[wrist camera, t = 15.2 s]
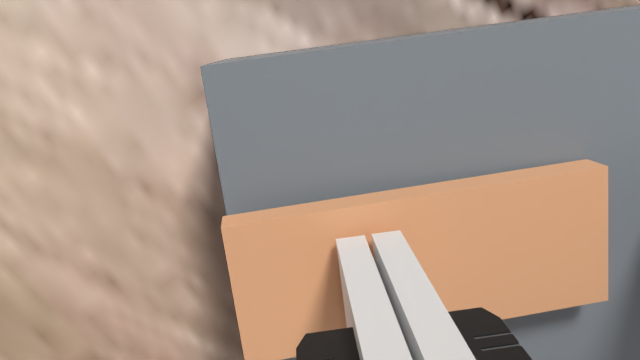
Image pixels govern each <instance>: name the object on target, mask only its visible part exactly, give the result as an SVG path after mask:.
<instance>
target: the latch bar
mask: <svg viewBox="0 0 640 360" xmlns="http://www.w3.org/2000/svg"><path fill="white" fill-rule="evenodd" d="M397 230H400V231H401V233H402V234H403V236H404V238H405V239H406V241H407V243H408V244H409V246H410V248H411V250H412V251H413V253H414V255H415V256H416V258H417V260H418V262H419V263H420V265H421V267H422V268H423V270H424V272H425V274H426V275H427V277H428V279H429V280H430V282H431V284H432V285H433V287H434V289H435V291H436V292H437V294H438V296H439V297H440V299H441V301H442V303H443V304H444V306H445V308H446V309H447V311H448V312H450V311H457V310H464V309H471V308H478V307H482V308H484V309H486V310H487V311H489V312H491V313H493V314H495V315H496V316H498V317H500V318H501V319H502V320H503V319H508V318H514V317H519V316H525V315H530V314H536V313H541V312H547V311H552V310H558V309H563V308H569V307H574V306H580V305H585V304H591V303H596V302H602V301H607V300H608V166H606V165H603V164H600V163H597V162H594V161H591V160H588V159H584V160H578V161H571V162H565V163H559V164H552V165H546V166H539V167H533V168H527V169H520V170H514V171H508V172H501V173H495V174H488V175H482V176H476V177H469V178H463V179H457V180H450V181H444V182H438V183H431V184H425V185H418V186H412V187H406V188H399V189H393V190H387V191H380V192H374V193H368V194H361V195H355V196H348V197H342V198H336V199H329V200H323V201H317V202H310V203H304V204H297V205H291V206H285V207H278V208H272V209H266V210H259V211H253V212H247V213H240V214H234V215H227V216H223V217H222V223H221V232H222V237H223V243H224V248H225V254H226V260H227V265H228V271H229V276H230V282H231V287H232V293H233V298H234V304H235V310H236V315H237V321H238V326H239V332H240V337H241V343H242V348H243V354H244V360H282V359H287V358H293V357H296V348H297V346H298V345H299V343H300V342H301V340H302V338H303V337H304V335H305V334H307V333H314V332H321V331H328V330H335V329H342V328H347V325H346V317H345V309H344V301H343V293H342V285H341V278H340V270H339V262H338V254H337V246H336V239H339V238H347V237H354V236H361V235H365V238H366V240H367V243H368V246H369V248H370V251H371V253H372V256H373V258H374V254H373V245H372V236H371V234H376V233H383V232H390V231H397Z"/></svg>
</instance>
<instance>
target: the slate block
mask: <svg viewBox="0 0 640 360" xmlns="http://www.w3.org/2000/svg"><path fill="white" fill-rule="evenodd" d="M200 68H201V74H202V79H203V85H204V91H205V96H206V102H207V108H208V113H209V119H210V125H211V130H212V136H213V142H214V147H215V153H216V159H217V164H218V170H219V176H220V181H221V187H222V193H223V198H224V204H225V210H226V215H234V214H240V213H247V212H253V211H259V210H266V209H272V208H278V207H285V206H291V205H297V204H304V203H310V202H317V201H323V200H329V199H336V198H342V197H348V196H355V195H361V194H368V193H374V192H380V191H387V190H393V189H399V188H406V187H412V186H418V185H425V184H431V183H438V182H444V181H450V180H457V179H463V178H469V177H476V176H482V175H488V174H495V173H501V172H508V171H514V170H520V169H527V168H533V167H539V166H546V165H552V164H559V163H565V162H571V161H578V160H584V159H588V160H591V161H594V162H597V163H600V164H603V165H606V166H608V300H607V301H602V302H596V303H591V304H585V305H580V306H574V307H569V308H563V309H558V310H552V311H547V312H541V313H536V314H530V315H525V316H519V317H514V318H508V319H503V320H502V321H503V322H504V323H505V325H506V326H507V327H508V329H509V330H510V331H511V334H513V335H514V336H515V338H516V339H517V340H518V342H519V344H520V346H522V347H523V348H524V350H525V351H526V352H527V353H528V355H529V356H530V357H531V359H532V360H640V5H635V6H627V7H620V8H612V9H604V10H597V11H589V12H581V13H574V14H566V15H559V16H551V17H543V18H536V19H528V20H521V21H513V22H505V23H498V24H490V25H483V26H475V27H467V28H460V29H452V30H445V31H437V32H429V33H422V34H414V35H406V36H399V37H391V38H384V39H376V40H368V41H361V42H353V43H346V44H338V45H330V46H323V47H315V48H308V49H300V50H292V51H285V52H277V53H269V54H262V55H254V56H247V57H239V58H231V59H225V60H221V61H218V62H214V63H210V64H207V65H203V66H200ZM282 360H296V357H293V358H287V359H282Z"/></svg>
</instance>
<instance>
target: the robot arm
mask: <svg viewBox="0 0 640 360" xmlns="http://www.w3.org/2000/svg"><path fill="white" fill-rule="evenodd" d="M371 236H372V245H373V254H374V258H373V256H372V253H371V251H370V248H369V246H368V243H367V240H366V238H365V235H361V236H354V237H347V238H339V239H336V246H337V254H338V262H339V270H340V278H341V285H342V293H343V301H344V309H345V317H346V325H347V328H342V329H335V330H328V331H321V332H314V333H307V334H305V335H304V337H303V338H302V340H301V342H300V343H299V345H298V346H297V348H296V360H532V359H531V357H530V356H529V355H528V353H527V352H526V351H525V350H524V348H523V347H522V346H520V344H519V342H518V340H517V339H516V338H515V336H514V335H513V334H511V331H510V330H509V329H508V327H507V326H506V325H505V323H504V322H503V321H502V319H501V318H500V317H498V316H496V315H495V314H493V313H491V312H489V311H487V310H486V309H484V308H482V307H478V308H471V309H464V310H457V311H450V312H448V311H447V309H446V308H445V306H444V304H443V303H442V301H441V299H440V297H439V296H438V294H437V292H436V291H435V289H434V287H433V285H432V284H431V282H430V280H429V279H428V277H427V275H426V274H425V272H424V270H423V268H422V267H421V265H420V263H419V262H418V260H417V258H416V256H415V255H414V253H413V251H412V250H411V248H410V246H409V244H408V243H407V241H406V239H405V238H404V236H403V234H402V233H401V231H400V230H397V231H390V232H383V233H376V234H371Z"/></svg>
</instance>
